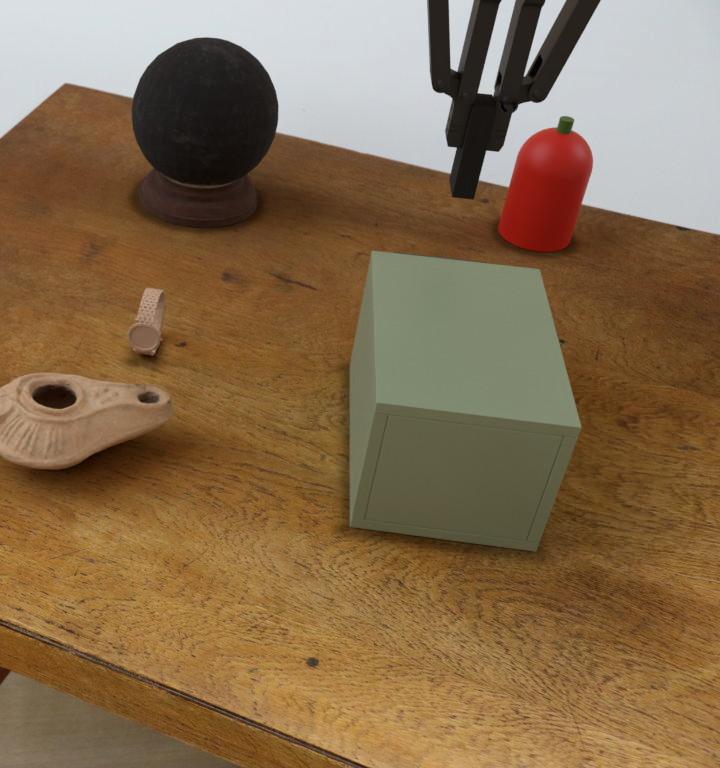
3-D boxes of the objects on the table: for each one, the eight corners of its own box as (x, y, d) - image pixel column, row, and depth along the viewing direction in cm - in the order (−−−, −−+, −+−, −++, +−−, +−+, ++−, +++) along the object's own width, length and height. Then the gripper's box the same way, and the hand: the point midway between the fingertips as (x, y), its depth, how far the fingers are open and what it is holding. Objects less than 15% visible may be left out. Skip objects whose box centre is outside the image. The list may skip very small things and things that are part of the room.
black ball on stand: (271, 237, 99) (291, 75, 90) (124, 228, 99) (130, 66, 90) (264, 170, 110) (282, 20, 101) (131, 162, 110) (137, 11, 101)
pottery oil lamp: (188, 473, 73) (162, 425, 67) (17, 517, 75) (-24, 474, 69) (167, 362, 77) (141, 308, 72) (6, 406, 79) (-33, 357, 73)
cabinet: (349, 365, 84) (371, 250, 78) (505, 384, 83) (539, 268, 77) (349, 527, 70) (376, 402, 64) (536, 552, 69) (581, 427, 63)
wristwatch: (125, 362, 83) (127, 306, 80) (139, 328, 87) (142, 273, 84) (160, 368, 83) (164, 312, 80) (173, 333, 86) (177, 279, 83)
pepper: (563, 221, 104) (598, 107, 97) (574, 255, 99) (612, 138, 92) (494, 214, 104) (524, 100, 98) (501, 247, 99) (533, 130, 93)
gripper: (442, -180, 61) (368, 204, 75) (687, -160, 60) (564, 226, 74) (433, -204, 67) (366, 156, 81) (656, -186, 66) (548, 175, 80)
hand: (461, 189), depth 77 cm, fingers closed
